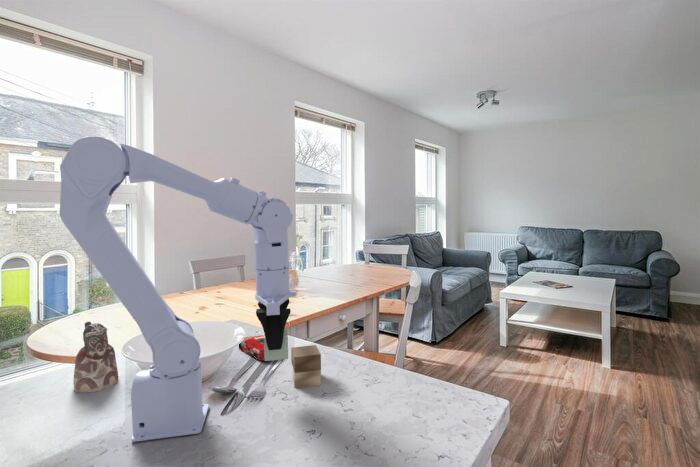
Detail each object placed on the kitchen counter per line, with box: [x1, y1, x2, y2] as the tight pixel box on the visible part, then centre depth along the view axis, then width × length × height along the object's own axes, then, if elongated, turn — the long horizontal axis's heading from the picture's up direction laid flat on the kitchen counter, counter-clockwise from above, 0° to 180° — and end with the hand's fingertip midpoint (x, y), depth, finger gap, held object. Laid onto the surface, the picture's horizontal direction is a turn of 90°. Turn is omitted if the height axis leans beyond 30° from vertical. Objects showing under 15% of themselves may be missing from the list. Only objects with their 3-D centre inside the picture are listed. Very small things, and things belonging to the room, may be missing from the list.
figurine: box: [72, 321, 119, 393], centre depth 72 cm, size 7×7×12 cm
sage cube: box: [263, 328, 289, 362], centre depth 66 cm, size 4×4×4 cm
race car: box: [238, 334, 265, 361], centre depth 87 cm, size 13×5×4 cm, turn 40°
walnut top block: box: [290, 344, 322, 373], centre depth 72 cm, size 5×5×3 cm
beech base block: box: [292, 368, 322, 389], centre depth 72 cm, size 5×5×3 cm
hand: (274, 344), depth 65 cm, fingers closed on sage cube, 4 cm apart
